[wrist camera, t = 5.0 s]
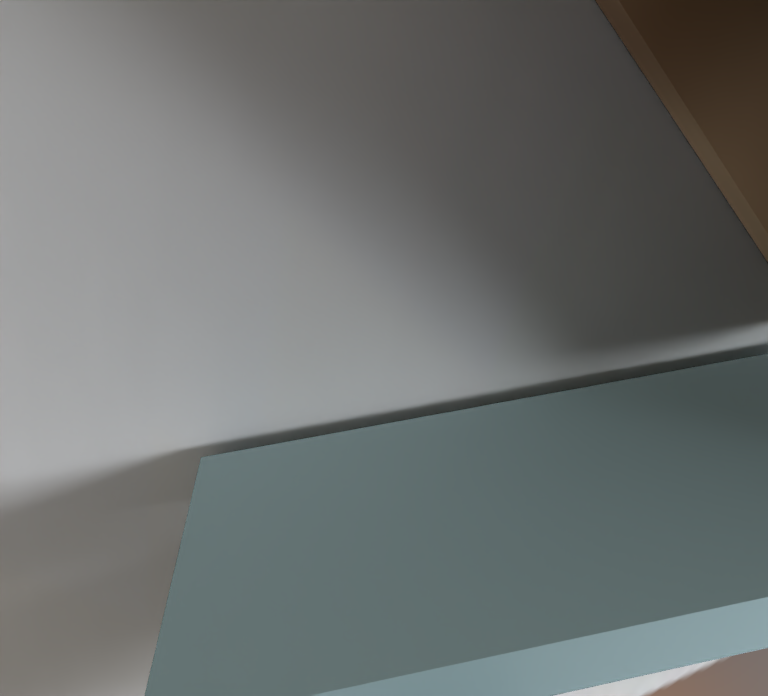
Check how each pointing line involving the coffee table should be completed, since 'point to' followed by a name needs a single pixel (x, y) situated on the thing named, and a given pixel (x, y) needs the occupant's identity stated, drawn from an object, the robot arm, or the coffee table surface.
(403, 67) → the coffee table surface
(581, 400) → the door
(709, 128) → the wooden paneled box
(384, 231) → the coffee table surface
